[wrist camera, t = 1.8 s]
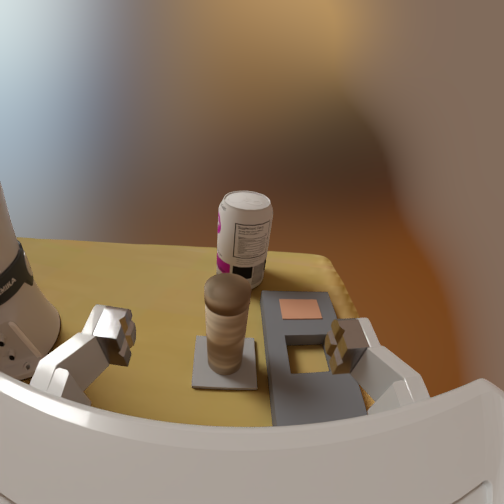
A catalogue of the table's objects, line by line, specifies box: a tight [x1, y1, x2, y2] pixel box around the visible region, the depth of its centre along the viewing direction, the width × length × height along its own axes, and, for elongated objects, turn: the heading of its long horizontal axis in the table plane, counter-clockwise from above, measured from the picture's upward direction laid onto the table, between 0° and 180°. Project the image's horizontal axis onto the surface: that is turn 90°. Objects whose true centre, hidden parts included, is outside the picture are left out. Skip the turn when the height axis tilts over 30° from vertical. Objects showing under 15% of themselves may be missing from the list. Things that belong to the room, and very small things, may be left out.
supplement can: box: [217, 191, 273, 289], centre depth 44 cm, size 8×8×15 cm
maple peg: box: [204, 273, 251, 375], centre depth 29 cm, size 4×4×13 cm
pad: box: [192, 336, 257, 390], centre depth 33 cm, size 8×8×1 cm
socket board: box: [260, 291, 367, 426], centre depth 34 cm, size 24×11×3 cm, turn 3°
